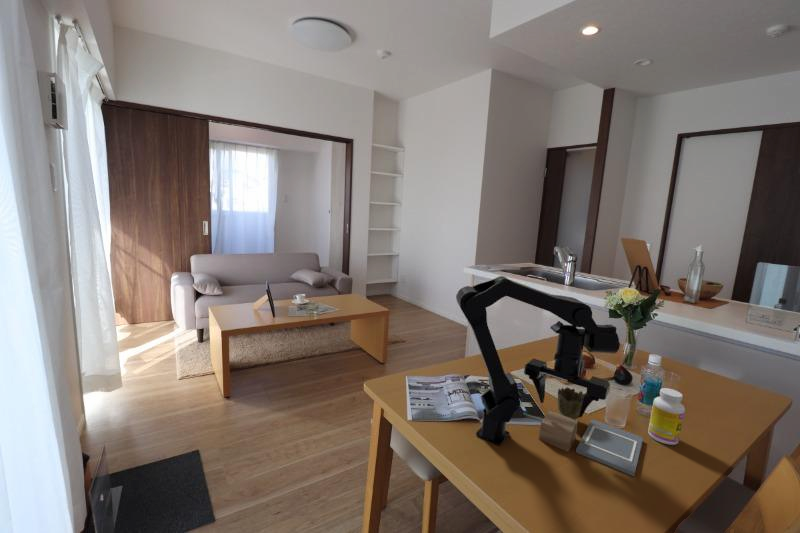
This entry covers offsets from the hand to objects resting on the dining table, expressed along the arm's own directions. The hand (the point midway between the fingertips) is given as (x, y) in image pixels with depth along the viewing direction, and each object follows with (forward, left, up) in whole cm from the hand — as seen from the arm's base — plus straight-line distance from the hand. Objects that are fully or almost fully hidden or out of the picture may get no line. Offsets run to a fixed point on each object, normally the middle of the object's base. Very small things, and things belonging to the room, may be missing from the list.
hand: (560, 409), depth 93 cm
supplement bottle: (+20, -21, -8) cm, 30 cm away
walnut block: (0, 0, -8) cm, 8 cm away
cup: (+11, 0, -8) cm, 14 cm away
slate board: (+6, -11, -8) cm, 15 cm away
